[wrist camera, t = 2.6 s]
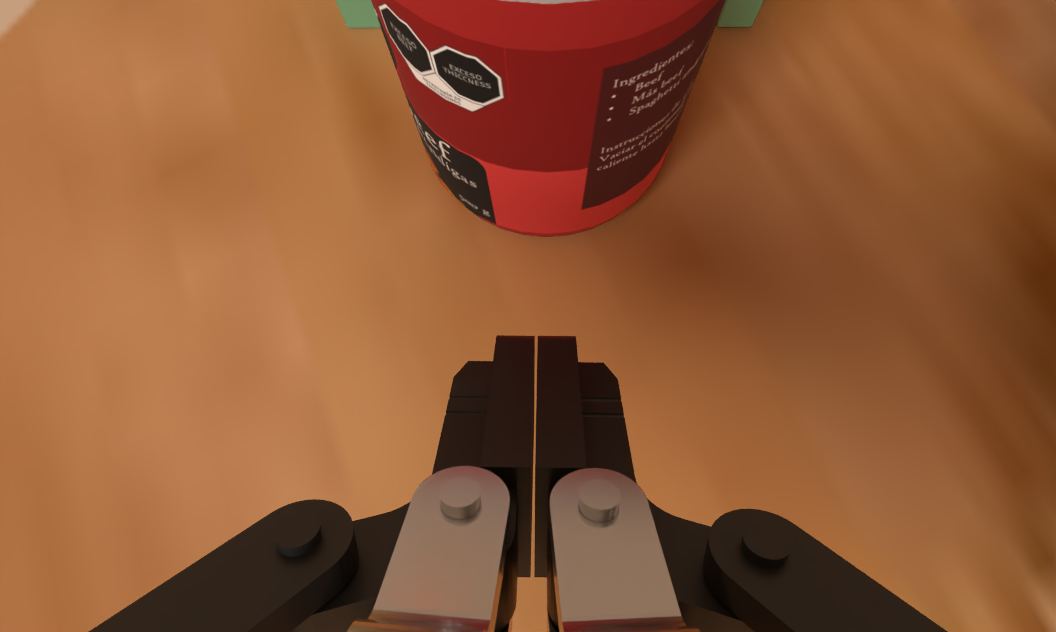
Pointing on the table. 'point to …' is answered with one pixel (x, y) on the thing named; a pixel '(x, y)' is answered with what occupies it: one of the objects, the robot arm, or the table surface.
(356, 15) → the green u-shaped frame
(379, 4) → the canned food
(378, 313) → the table surface
